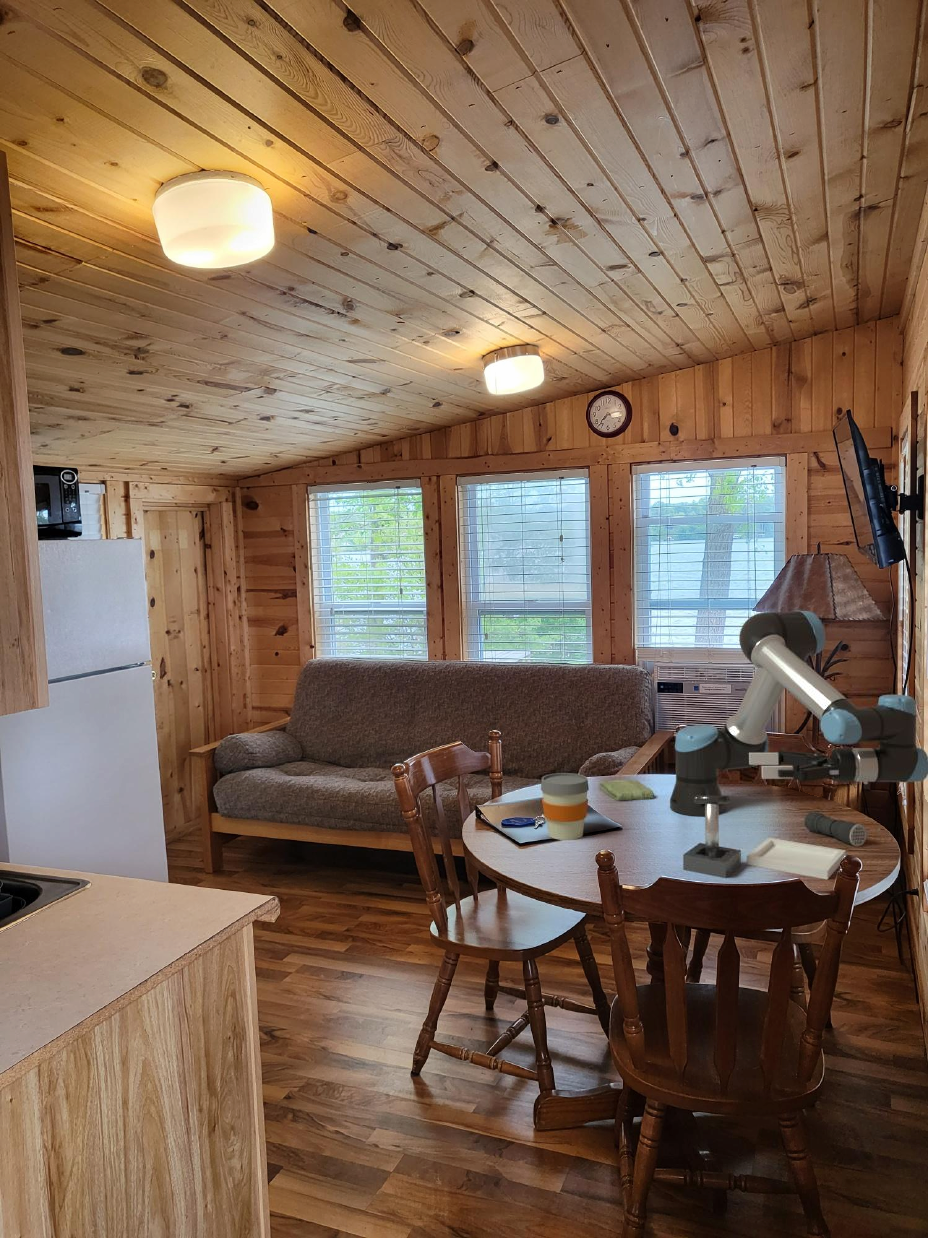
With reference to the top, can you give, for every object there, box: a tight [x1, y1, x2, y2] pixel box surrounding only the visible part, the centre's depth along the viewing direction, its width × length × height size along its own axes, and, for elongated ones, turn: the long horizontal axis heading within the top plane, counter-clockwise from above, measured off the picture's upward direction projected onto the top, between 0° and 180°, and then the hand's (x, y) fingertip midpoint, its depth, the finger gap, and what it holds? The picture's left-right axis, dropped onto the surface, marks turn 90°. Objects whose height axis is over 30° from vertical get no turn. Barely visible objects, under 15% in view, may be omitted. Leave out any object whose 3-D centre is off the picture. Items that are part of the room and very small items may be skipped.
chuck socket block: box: [682, 842, 742, 879], centre depth 203 cm, size 10×10×4 cm
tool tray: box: [746, 837, 847, 880], centre depth 205 cm, size 18×16×2 cm
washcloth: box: [599, 779, 655, 802], centre depth 269 cm, size 13×18×3 cm
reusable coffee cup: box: [540, 772, 589, 841], centre depth 230 cm, size 13×13×15 cm
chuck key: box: [694, 795, 731, 858], centre depth 202 cm, size 8×3×16 cm, turn 83°
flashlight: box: [804, 811, 867, 847], centre depth 222 cm, size 15×5×5 cm, turn 26°
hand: (755, 765), depth 200 cm, fingers open, 13 cm apart
